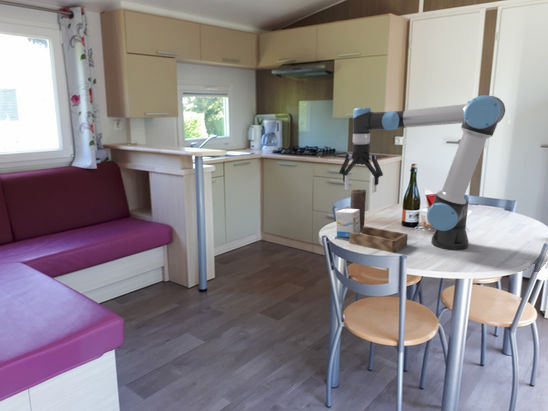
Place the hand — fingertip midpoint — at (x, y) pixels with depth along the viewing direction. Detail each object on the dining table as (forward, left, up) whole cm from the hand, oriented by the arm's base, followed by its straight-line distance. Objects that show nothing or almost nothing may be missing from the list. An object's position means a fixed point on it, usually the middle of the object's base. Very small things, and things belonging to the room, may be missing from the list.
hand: (360, 190), depth 200 cm
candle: (+6, -11, -22) cm, 25 cm away
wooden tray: (-11, +3, -22) cm, 25 cm away
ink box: (+3, +3, -21) cm, 21 cm away
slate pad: (+3, +3, -22) cm, 22 cm away
